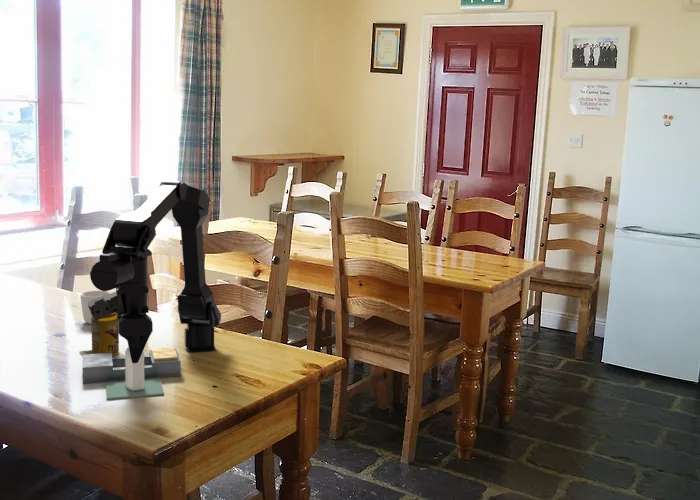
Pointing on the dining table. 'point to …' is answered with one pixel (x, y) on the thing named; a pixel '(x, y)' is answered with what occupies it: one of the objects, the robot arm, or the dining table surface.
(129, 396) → the mat
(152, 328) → the robot arm
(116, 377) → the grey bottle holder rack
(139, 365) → the eye dropper bottle
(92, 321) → the condiment
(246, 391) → the dining table surface
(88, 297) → the cup
